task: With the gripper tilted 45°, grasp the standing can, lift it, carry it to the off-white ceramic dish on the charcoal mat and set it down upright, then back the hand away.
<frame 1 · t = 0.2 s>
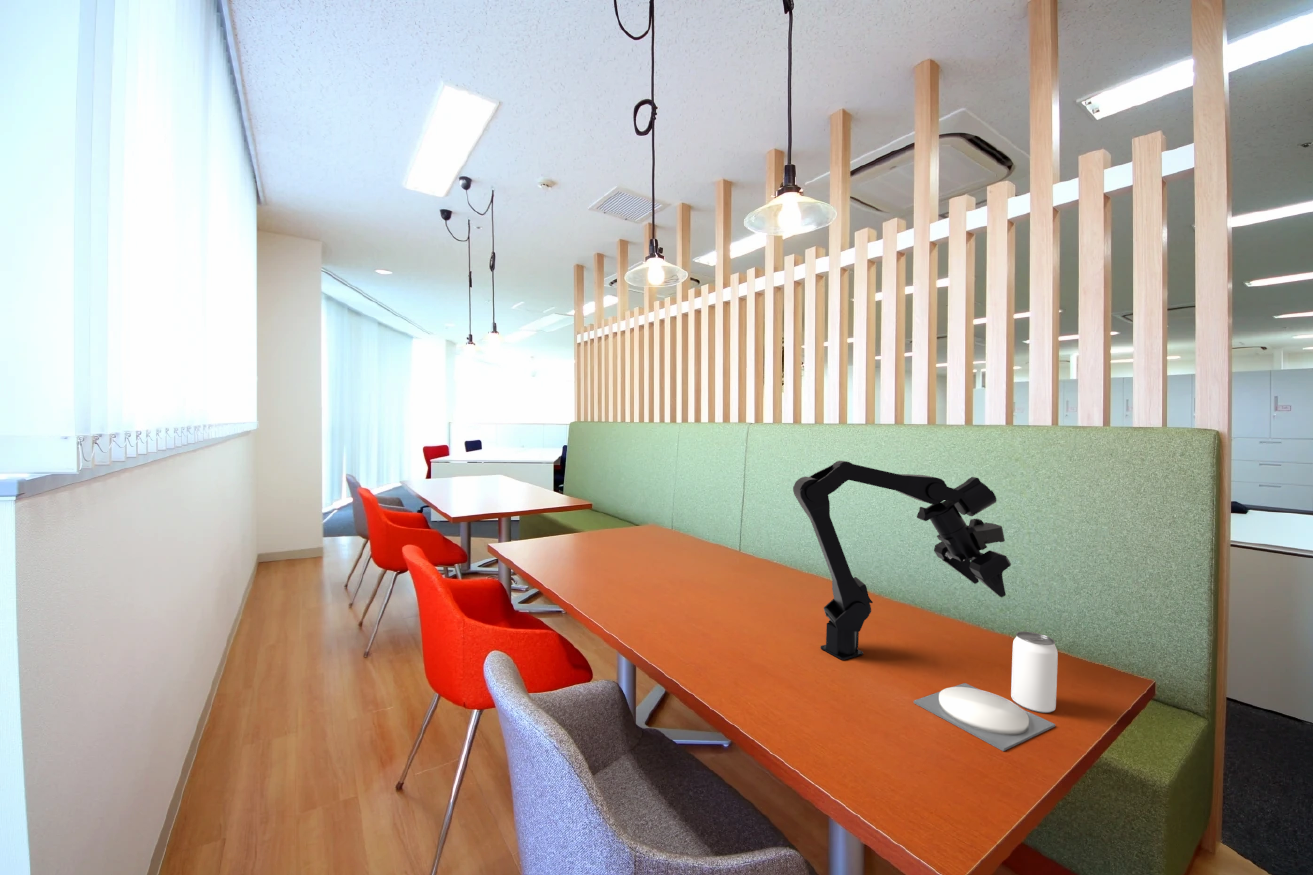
hand: (989, 589, 109), 15 cm above the table, tool tilted 35°, fingers open, 9 cm apart
can: (1032, 705, 91), on the table
dish: (981, 714, 87), on the table
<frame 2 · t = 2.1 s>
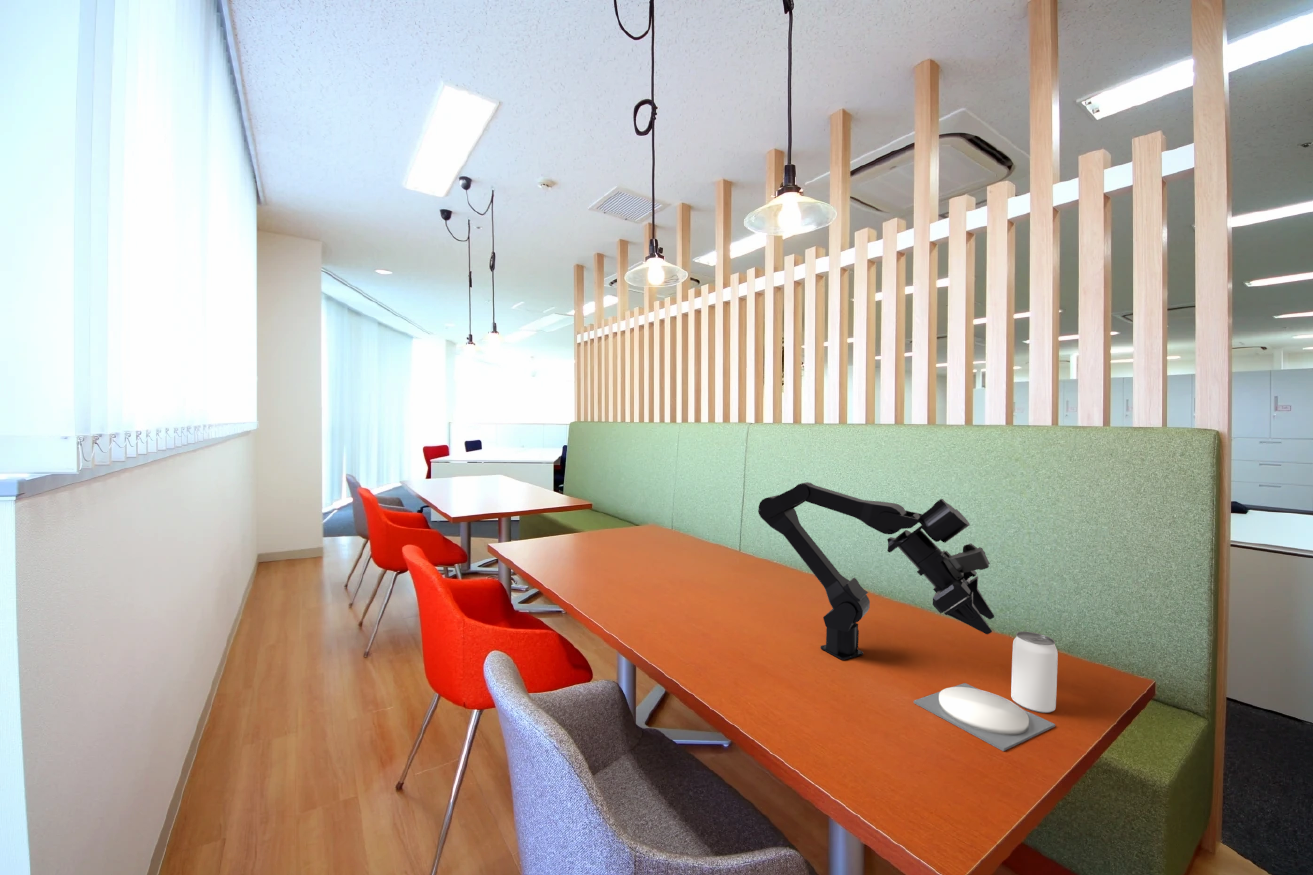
hand: (991, 625, 95), 13 cm above the table, tool tilted 45°, fingers open, 9 cm apart
nothing on the table moved.
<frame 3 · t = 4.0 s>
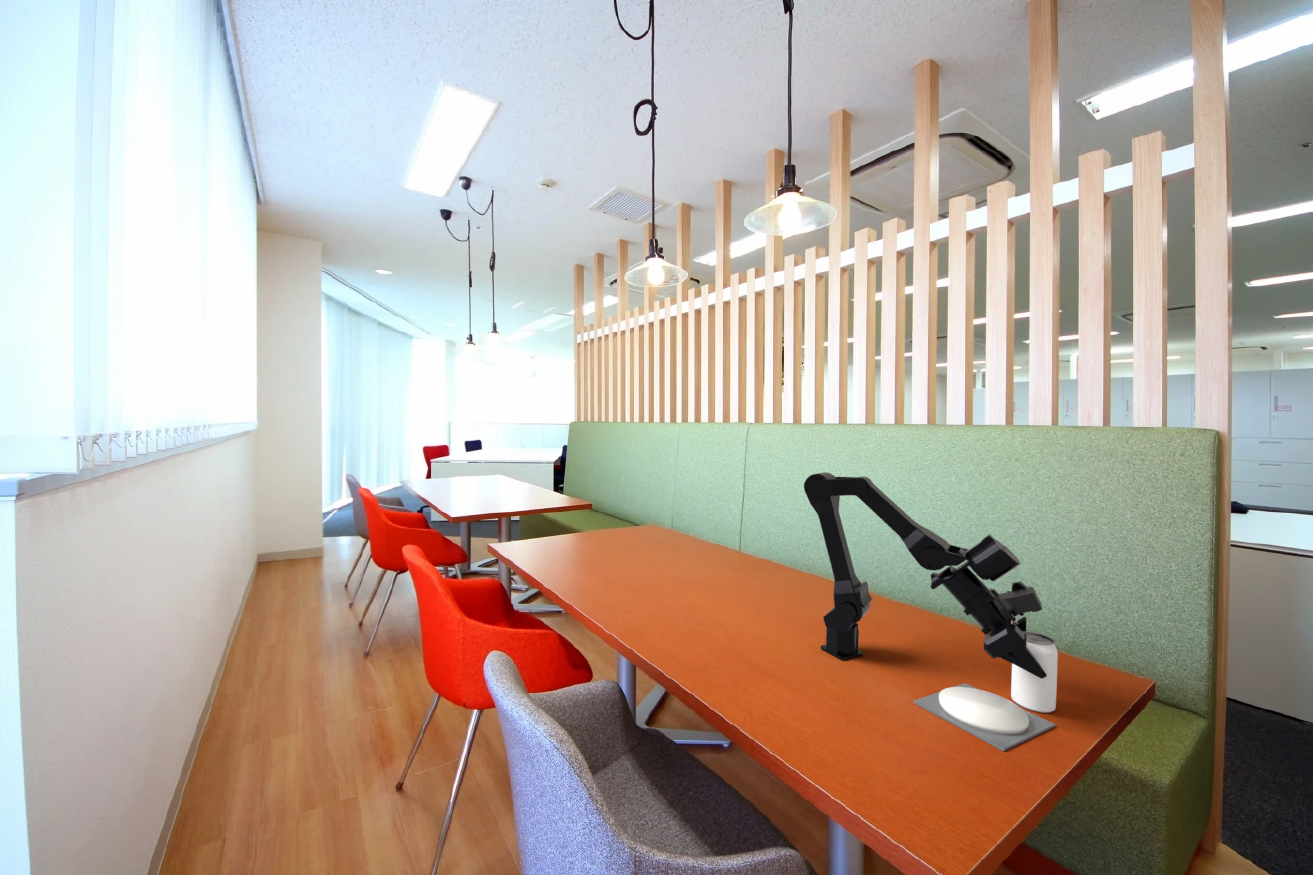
hand: (1043, 669, 90), 7 cm above the table, tool tilted 45°, fingers closed on can, 6 cm apart
can: (1032, 705, 91), on the table, touching gripper
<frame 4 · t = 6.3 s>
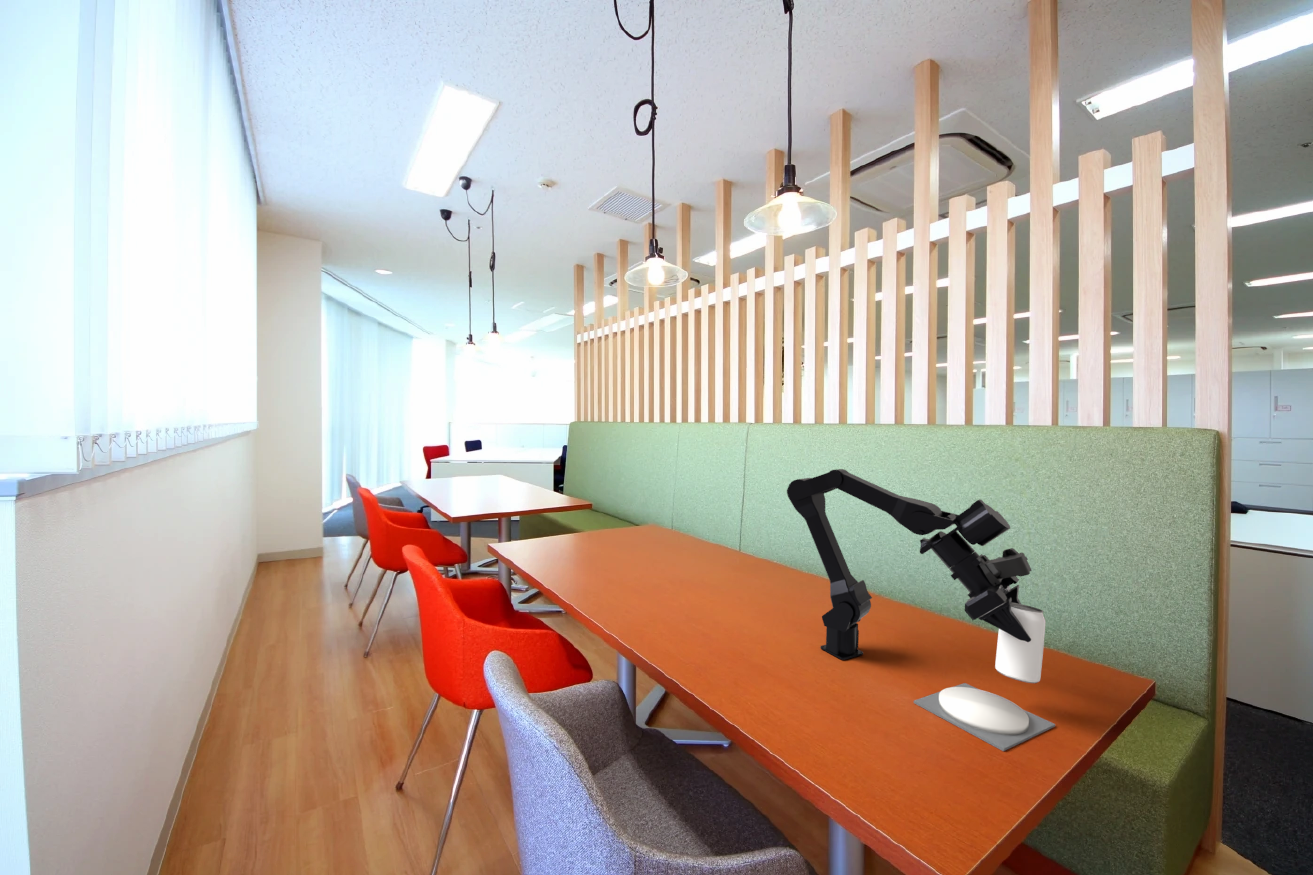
hand: (1031, 636, 89), 13 cm above the table, tool tilted 45°, fingers closed on can, 6 cm apart
can: (1016, 677, 89), point 6 cm above the table, touching gripper
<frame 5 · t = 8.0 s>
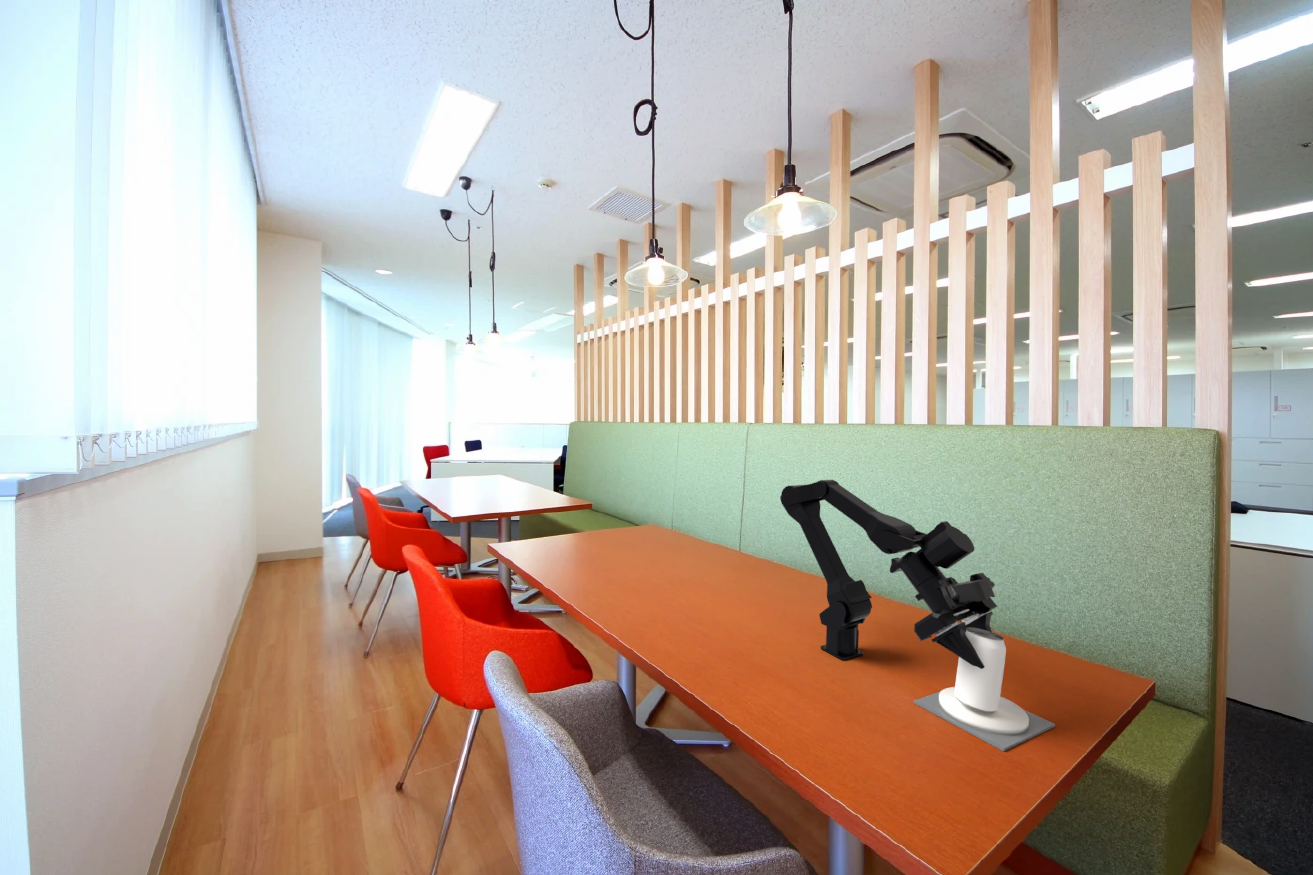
hand: (991, 664, 86), 9 cm above the table, tool tilted 45°, fingers closed on can, 6 cm apart
can: (975, 704, 87), point 2 cm above the table, touching gripper
when the fingers open (9 cm above the table, at t = 8.5 s): can stays where it is, resting on dish.
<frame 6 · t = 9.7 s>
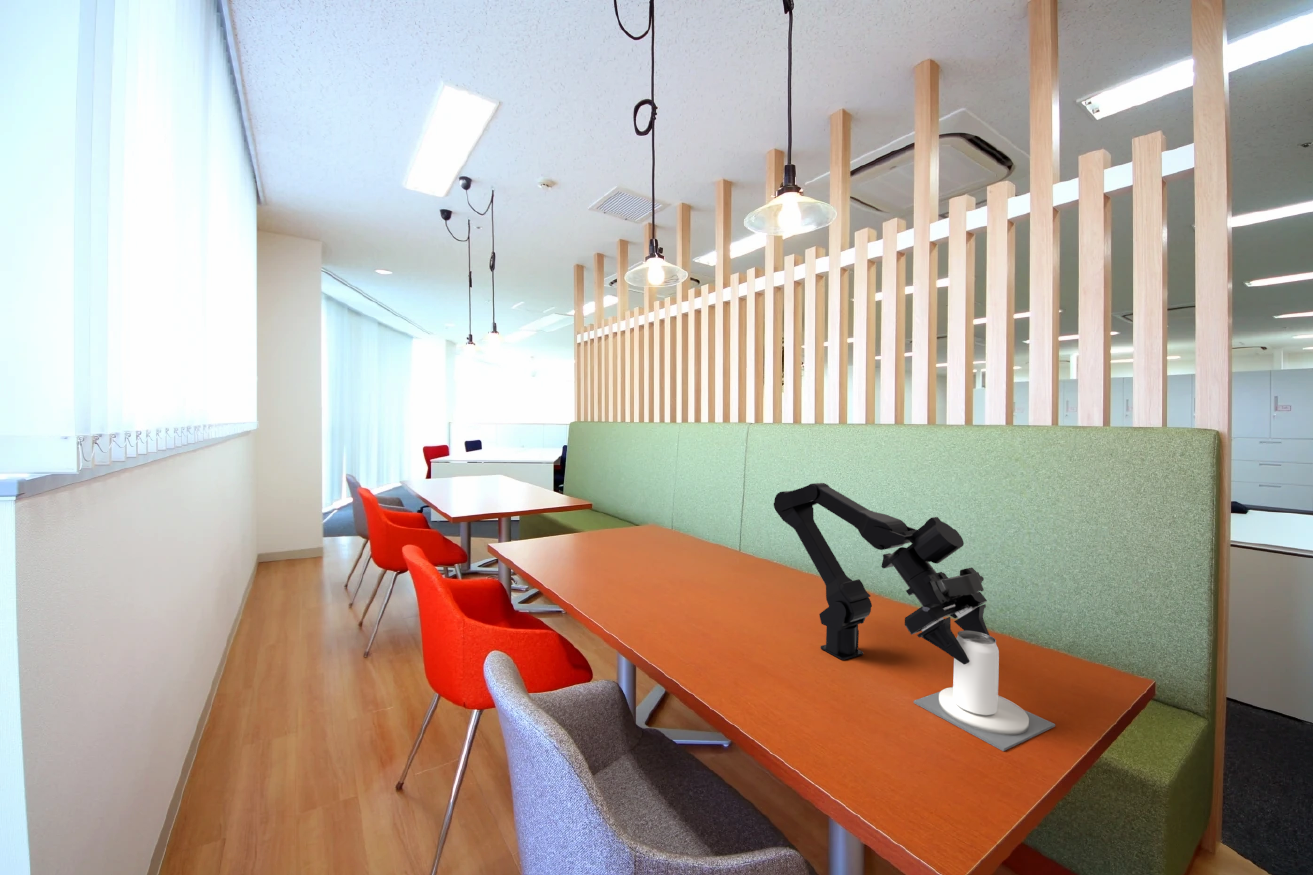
hand: (980, 656, 88), 10 cm above the table, tool tilted 45°, fingers open, 9 cm apart
can: (974, 707, 87), point 1 cm above the table, touching dish, gripper
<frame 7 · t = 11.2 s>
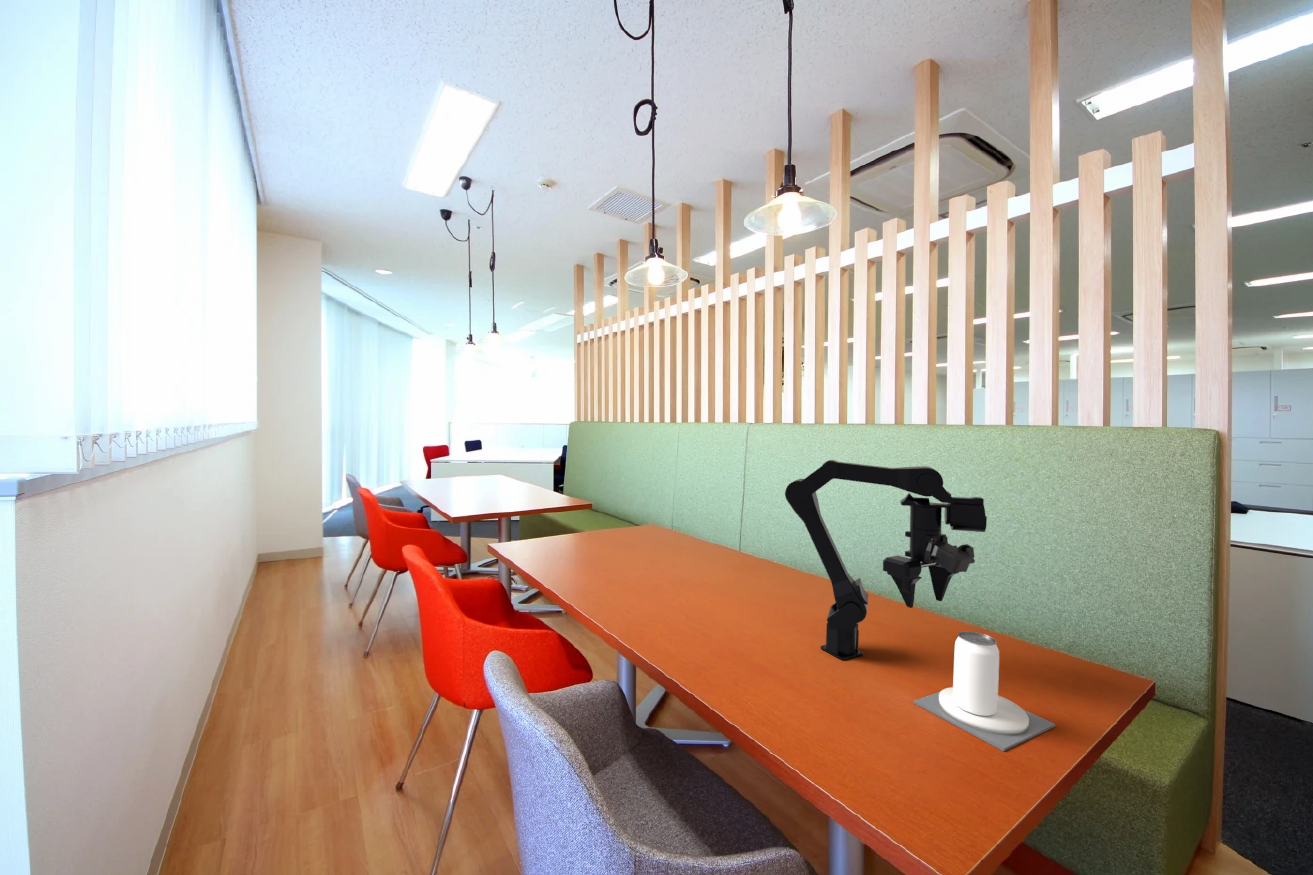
hand: (924, 604, 104), 13 cm above the table, tool pointing down, fingers open, 9 cm apart
can: (974, 708, 87), point 1 cm above the table, touching dish
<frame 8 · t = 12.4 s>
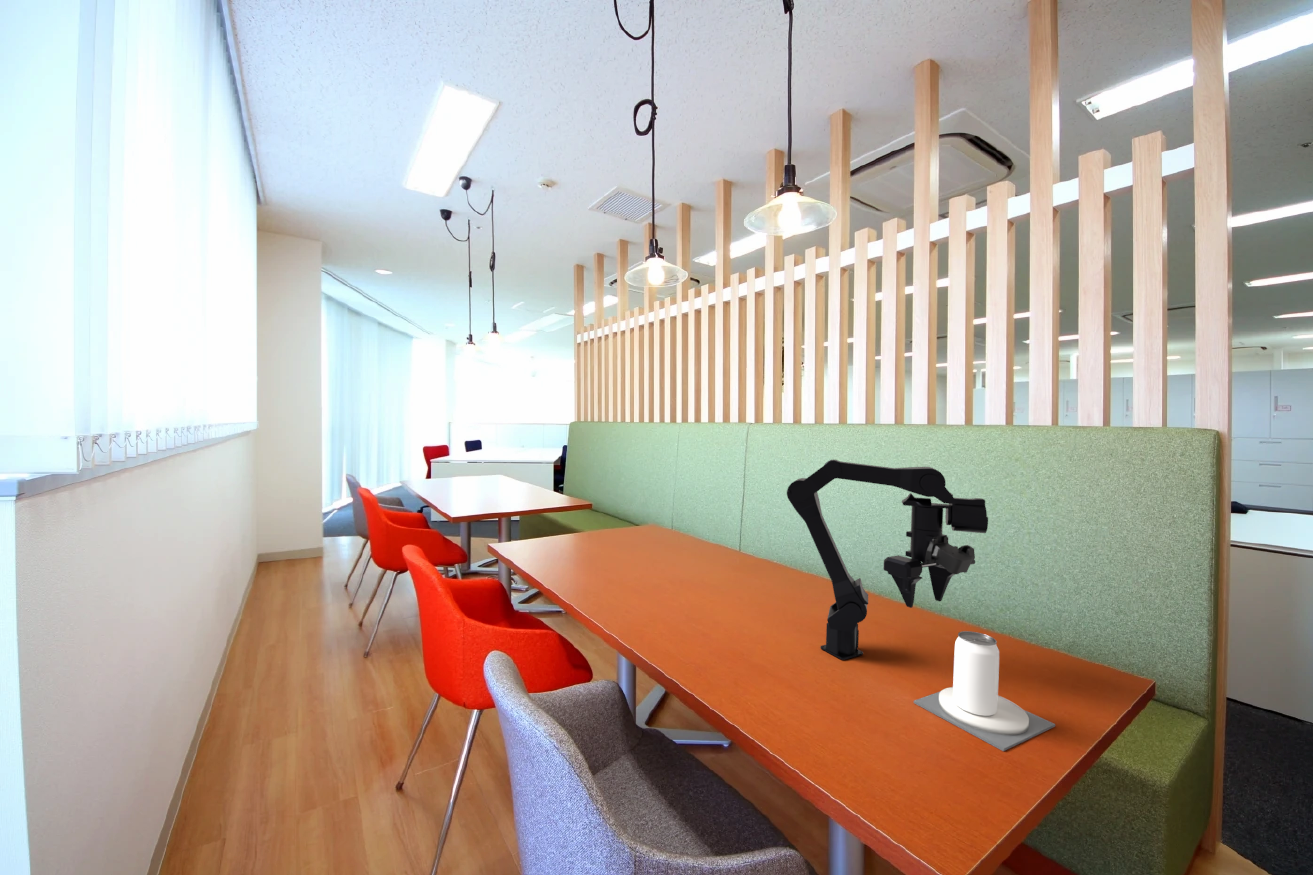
hand: (924, 603, 105), 13 cm above the table, tool pointing down, fingers open, 9 cm apart
nothing on the table moved.
at the end: can 1.6 cm off-centre on the dish, point 1.2 cm above the dish's base; can tilted 0°; the gripper is holding nothing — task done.
